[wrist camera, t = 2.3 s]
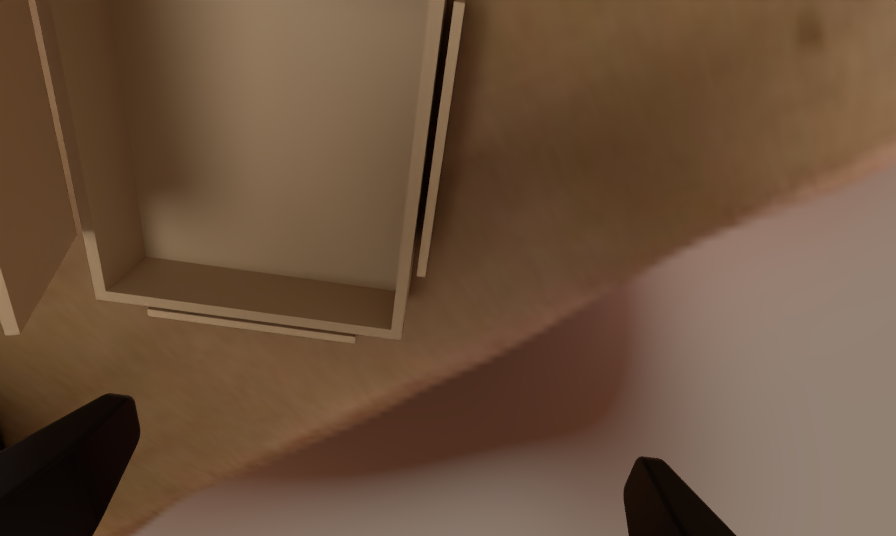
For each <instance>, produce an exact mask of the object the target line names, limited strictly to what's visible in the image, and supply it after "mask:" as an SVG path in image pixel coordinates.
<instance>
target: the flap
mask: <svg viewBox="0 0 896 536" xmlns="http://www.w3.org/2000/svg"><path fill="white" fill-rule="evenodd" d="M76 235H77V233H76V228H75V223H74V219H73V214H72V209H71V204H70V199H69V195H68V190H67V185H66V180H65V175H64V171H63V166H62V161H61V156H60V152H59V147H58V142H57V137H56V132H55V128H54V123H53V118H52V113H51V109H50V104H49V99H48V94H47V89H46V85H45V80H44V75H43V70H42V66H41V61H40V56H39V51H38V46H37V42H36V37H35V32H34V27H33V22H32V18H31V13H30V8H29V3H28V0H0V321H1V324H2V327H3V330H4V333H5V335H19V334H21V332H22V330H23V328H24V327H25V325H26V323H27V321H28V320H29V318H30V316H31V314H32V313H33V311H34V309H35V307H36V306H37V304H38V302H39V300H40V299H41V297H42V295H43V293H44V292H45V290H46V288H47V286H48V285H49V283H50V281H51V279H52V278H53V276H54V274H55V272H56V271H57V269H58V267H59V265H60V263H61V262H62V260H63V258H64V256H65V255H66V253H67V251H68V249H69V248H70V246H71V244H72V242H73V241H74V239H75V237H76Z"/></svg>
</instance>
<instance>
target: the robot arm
mask: <svg viewBox="0 0 896 536" xmlns="http://www.w3.org/2000/svg"><path fill="white" fill-rule="evenodd" d="M139 438H140V425H139V420H138V415H137V410H136V405H135V401H134V399H133V398H132V397H131V396H129V395H121V394H112V393H109V394H105V395H103V396H100V397H99V398H97V399H95V400H93V401H91V402H90V403H88V404H86V405H84V406H82V407H80V408H79V409H77V410H75V411H73V412H71V413H70V414H68V415H66V416H64V417H62V418H60V419H59V420H57V421H55V422H53V423H51V424H49V425H48V426H46V427H44V428H42V429H40V430H39V431H37V432H35V433H33V434H31V435H29V436H28V437H26V438H24V439H22V440H20V441H19V442H17V443H15V444H13V445H11V446H9V447H8V448H6V449H4V446H3V443H2V440H1V438H0V536H92V535H93V534H94V532H95V530H96V529H97V527H98V525H99V523H100V521H101V519H102V517H103V515H104V513H105V511H106V509H107V507H108V505H109V503H110V501H111V498H112V496H113V494H114V492H115V490H116V488H117V486H118V484H119V482H120V480H121V477H122V475H123V473H124V471H125V469H126V467H127V465H128V463H129V461H130V459H131V456H132V454H133V452H134V450H135V448H136V446H137V444H138V441H139ZM624 505H625V512H626V519H627V526H628V533H629V536H736V535H735V534H734V533H733V532H732V531H731V530H730V529H729V528H728V526H727V525H726V524H725V523H724V522H723V521H722V520H721V519H720V518H719V517H718V516H717V515H716V514H715V513H714V512H713V511H712V510H711V509H710V508H709V507H708V506H707V505H706V504H705V503H704V502H703V501H702V500H701V499H700V498H699V497H698V495H696V493H694V491H693V490H692V489H691V488H690V487H689V486H688V485H687V484H686V483H685V482H684V481H683V480H682V479H681V478H680V477H679V476H678V475H677V474H676V473H675V472H674V471H673V470H672V469H671V468H670V467H669V465H667V464H666V462H664V461H663V460H662V459H658V458H651V457H643V456H642V457H639V458H638V459H637V460H636V461H635V463H634V466H633V468H632V470H631V473H630V475H629V477H628V479H627V482H626V484H625V487H624Z"/></svg>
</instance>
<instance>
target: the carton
mask: <svg viewBox="0 0 896 536" xmlns="http://www.w3.org/2000/svg"><path fill="white" fill-rule="evenodd" d="M35 1H36V6H37V11H38V16H39V20H40V25H41V30H42V35H43V40H44V45H45V50H46V55H47V60H48V65H49V70H50V75H51V80H52V84H53V89H54V94H55V99H56V104H57V109H58V114H59V119H60V124H61V129H62V134H63V139H64V144H65V149H66V153H67V158H68V163H69V168H70V173H71V178H72V183H73V188H74V193H75V198H76V203H77V208H78V213H79V218H80V222H81V227H82V232H83V237H84V242H85V247H86V252H87V257H88V262H89V267H90V272H91V277H92V282H93V286H94V291H95V296H96V299H98V300H106V301H113V302H121V303H128V304H135V305H143V306H150V307H149V308H148V309H147V310H148V316H152V317H160V318H167V319H175V320H182V321H190V322H197V323H205V324H212V325H219V326H227V327H234V328H242V329H249V330H257V331H264V332H272V333H279V334H287V335H294V336H302V337H309V338H316V339H324V340H331V341H339V342H346V343H354V344H355V341H356V338H357V334H358V335H365V336H373V337H380V338H388V339H395V340H401V337H402V331H403V325H404V320H405V314H406V308H407V302H408V296H409V289H410V281H411V274H412V266H413V258H414V251H415V243H416V235H417V228H418V220H419V212H420V205H421V197H422V190H423V182H424V174H425V167H426V159H427V151H428V144H429V136H430V128H431V121H432V113H433V106H434V98H435V90H436V83H437V75H438V67H439V60H440V52H441V45H442V37H443V29H444V22H445V14H446V6H447V0H35ZM464 7H465V0H455V1H454V6H453V13H452V21H451V28H450V35H449V43H448V50H447V57H446V64H445V72H444V79H443V86H442V94H441V101H440V108H439V116H438V123H437V130H436V138H435V145H434V152H433V160H432V167H431V174H430V182H429V189H428V196H427V204H426V211H425V218H424V225H423V233H422V240H421V247H420V255H419V262H418V269H417V276H419V277H425V275H426V268H427V261H428V254H429V248H430V241H431V234H432V227H433V220H434V213H435V206H436V200H437V193H438V186H439V179H440V172H441V165H442V158H443V152H444V145H445V138H446V131H447V124H448V117H449V110H450V103H451V97H452V90H453V83H454V76H455V69H456V62H457V55H458V49H459V42H460V35H461V28H462V21H463V14H464Z"/></svg>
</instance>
